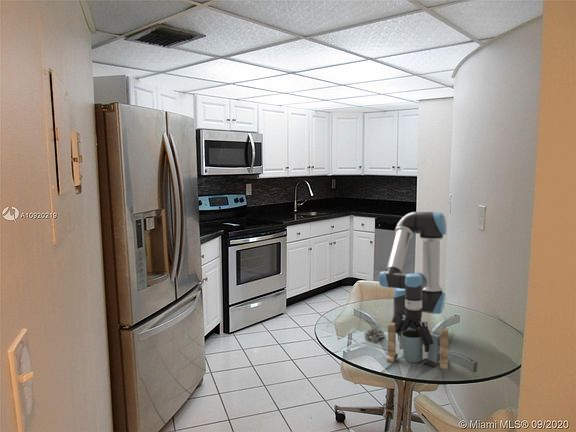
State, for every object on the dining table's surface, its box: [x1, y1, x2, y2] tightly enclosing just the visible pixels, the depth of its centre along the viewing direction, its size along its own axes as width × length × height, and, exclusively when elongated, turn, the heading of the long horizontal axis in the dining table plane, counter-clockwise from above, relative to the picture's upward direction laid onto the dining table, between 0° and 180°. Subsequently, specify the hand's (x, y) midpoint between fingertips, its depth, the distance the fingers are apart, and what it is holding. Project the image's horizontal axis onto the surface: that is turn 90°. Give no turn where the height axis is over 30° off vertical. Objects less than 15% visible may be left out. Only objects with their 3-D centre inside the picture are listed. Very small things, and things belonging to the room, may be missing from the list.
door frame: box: [386, 321, 449, 370], centre depth 199 cm, size 10×26×16 cm, turn 68°
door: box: [407, 327, 441, 364], centre depth 204 cm, size 3×19×12 cm, turn 34°
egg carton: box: [363, 327, 385, 343], centre depth 229 cm, size 11×8×4 cm
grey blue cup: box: [401, 329, 424, 364], centre depth 201 cm, size 10×10×12 cm
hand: (413, 353), depth 201 cm, fingers open, 13 cm apart
